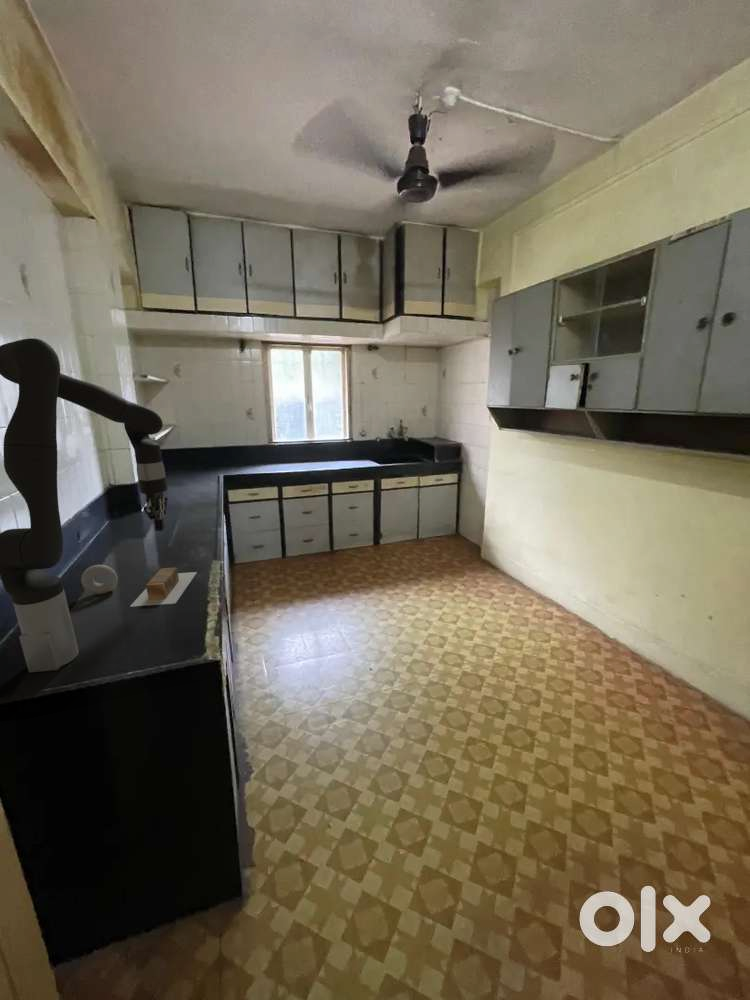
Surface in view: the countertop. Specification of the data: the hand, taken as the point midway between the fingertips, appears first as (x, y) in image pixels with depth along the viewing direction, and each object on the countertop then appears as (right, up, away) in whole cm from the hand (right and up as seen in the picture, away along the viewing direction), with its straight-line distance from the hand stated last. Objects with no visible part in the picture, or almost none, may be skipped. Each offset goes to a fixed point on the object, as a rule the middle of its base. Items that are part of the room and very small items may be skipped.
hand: (160, 530), depth 129 cm
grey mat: (0, -20, +3) cm, 20 cm away
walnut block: (0, -15, +7) cm, 17 cm away
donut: (-19, -21, +1) cm, 28 cm away
